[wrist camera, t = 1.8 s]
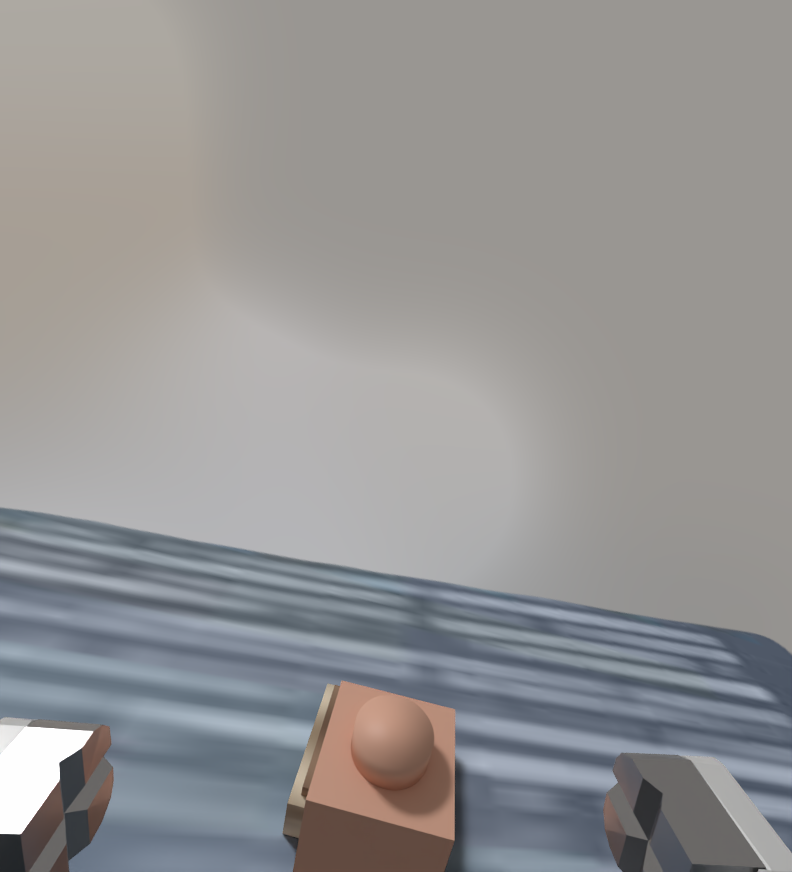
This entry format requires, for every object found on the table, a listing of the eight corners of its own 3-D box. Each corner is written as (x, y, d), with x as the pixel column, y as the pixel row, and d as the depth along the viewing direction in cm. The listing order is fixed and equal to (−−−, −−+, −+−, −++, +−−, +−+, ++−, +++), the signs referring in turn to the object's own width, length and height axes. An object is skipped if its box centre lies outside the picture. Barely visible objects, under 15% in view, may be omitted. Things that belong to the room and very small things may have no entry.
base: (425, 874, 31) (437, 835, 30) (282, 833, 31) (288, 794, 30) (433, 738, 40) (442, 705, 39) (323, 709, 41) (329, 676, 40)
